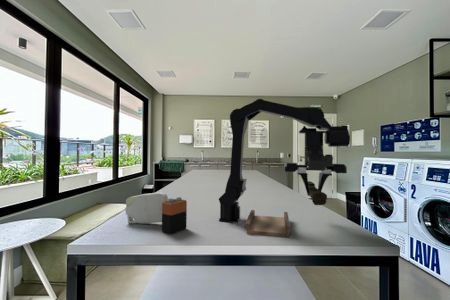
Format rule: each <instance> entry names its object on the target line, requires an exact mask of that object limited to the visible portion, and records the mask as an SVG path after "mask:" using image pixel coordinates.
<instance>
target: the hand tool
mask: <svg viewBox="0 0 450 300" xmlns="http://www.w3.org/2000/svg"><path fill="white" fill-rule="evenodd" d="M308 187H309V194H307V193H306V195H307V196H308V197H309V198H311V199H312V204H313V205H314V206H323V205H325V204H326V203H327V200H328V194H326V193H325V192H324V191H322V190H318V187H316V184H315V183H314V182H312V181H308Z"/></svg>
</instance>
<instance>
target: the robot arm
mask: <svg viewBox="0 0 450 300" xmlns="http://www.w3.org/2000/svg"><path fill="white" fill-rule="evenodd" d="M260 113H265V114H270V115H274V116H277V117H278V116H279V117H283V118H286V119H291V120H294V121H296V122H298V123H300V124H302V125H303V127H302V128H301V129H300V130H299V131H298V133H299V134H300V135H301V134H304V164H298V163H297V162H285V163H284V165H283V166H284V167H283V168H284V170H283V171H284V172H286V173H287V172H288V173H292V172H293V173H295V172H296V174H297V176H298V175H300V178H301V179H302V182H303V184H304V188H305V191H306V195H307V194H309V187H308V180H309V179H308V173H307V171H320V172H319V173H318V186H317V189H318V190H321V191H322V190H323V187H324V185H325V183H326V181H327V180H328V178H329V176H333V174H332V172H334V173H335V174H347V173H348V171H347V165H346V164H344V163H334V161H333V159H334V156H333V154H325V155H324V144H326V145H327V146H328V147H329V148H330V147H331V148H341V147H343V148H348V147H350V146H349V145H350V141H351V135H350V132H349V129H348V125H337V126H335V125H334V126H332V125H331V124H330V122H329V121H328V120H327V119H326V118H325V114H324V111H323V110H322V109H321V108H320V107H315V106H311V107H309V106H305V107H304V106H302V107H301V106H300V107H297V106H293V105H287V104H282V103H279V102H273V101H268V100H264V99H263V98H258V99H256V100H254V101H253V102H251V103H250V102H249V103H247V104H246V105H244V106H242V107H240V108H235V109H234V110H233V109H232V111H231V112H230V114H229V121H230V122H229V123H230V129H231V133H232V141H231V142H232V143H231V157H230V173H229V176H228V179H227V181H226V185H225V190H224V192H223V194H222V195H220V196H219V198H218V202H219V203H220V204H219V207H220V208H219V209H220V210H219V212H220V215H219V217H220V218H219V219H218V222H228V223H238V221H239V220H240V218H241V206H240V202H239V199H240V198H241V197H242V196H243V195H244V193H245V191H246V190H247V187H246V184H247V178H243V177H244V176H243V162H244V161H243V158H244V144H245V136H246V135H245V134H246V132H247V129H248V125H249V121H251V120H252V119H254V118H255V117H257V115H259V114H260ZM306 126H307V127H306Z"/></svg>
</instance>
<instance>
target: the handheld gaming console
mask: <svg viewBox="0 0 450 300" xmlns="http://www.w3.org/2000/svg"><path fill="white" fill-rule="evenodd" d="M167 199H169V197H168V195H167V193H165V192H164V191H163V192H152V193H150V192H149V193H142V194H139V195H134V196H133V195H132V196H130V197H129V196H128V197H127V198H126V199H125V206H126V207H125V215H126V216H127V222H128V223H127V224H129V223H132V224H142V225H143V224H155V223H157V224H158V223H162V202H165V201H167Z"/></svg>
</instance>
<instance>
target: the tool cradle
mask: <svg viewBox="0 0 450 300" xmlns="http://www.w3.org/2000/svg"><path fill="white" fill-rule="evenodd" d="M255 212H256V211H255V210H254V209H251V210H250V212H249V214H248V216H247V218H246V221H245V223H244V231H246V234H248V235H259V236H269V237H283V238H289V235H290V234H291V225H290V224H291V223H290V220H289V213H288V211H283V216H267V215H266V216H265V215H256V213H255Z"/></svg>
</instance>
